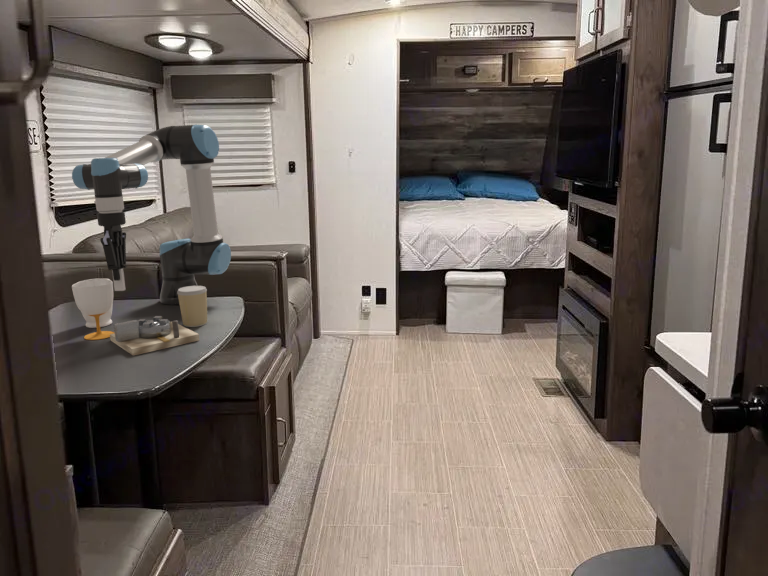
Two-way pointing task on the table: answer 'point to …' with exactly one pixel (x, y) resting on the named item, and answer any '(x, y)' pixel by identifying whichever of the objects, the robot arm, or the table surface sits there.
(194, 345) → the table surface
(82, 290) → the cup
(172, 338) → the housing plate
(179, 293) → the coffee cup
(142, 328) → the grey notched machine part
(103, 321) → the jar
